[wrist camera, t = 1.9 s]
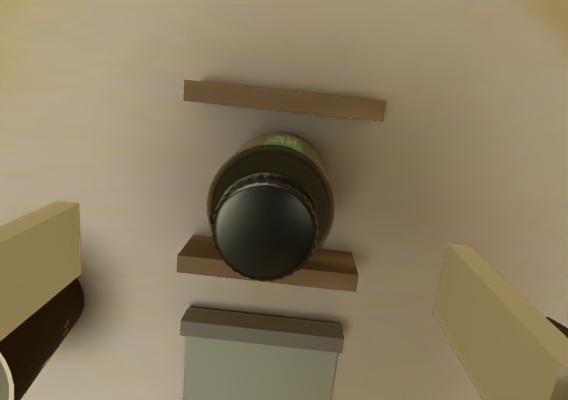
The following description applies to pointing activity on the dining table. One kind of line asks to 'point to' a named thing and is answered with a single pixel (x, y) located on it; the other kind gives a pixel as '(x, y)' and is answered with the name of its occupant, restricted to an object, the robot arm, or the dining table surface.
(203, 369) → the slate pad
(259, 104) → the walnut cradle
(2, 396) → the coffee mug
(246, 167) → the supplement bottle
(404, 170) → the dining table surface
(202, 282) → the dining table surface
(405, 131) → the dining table surface
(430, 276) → the dining table surface
